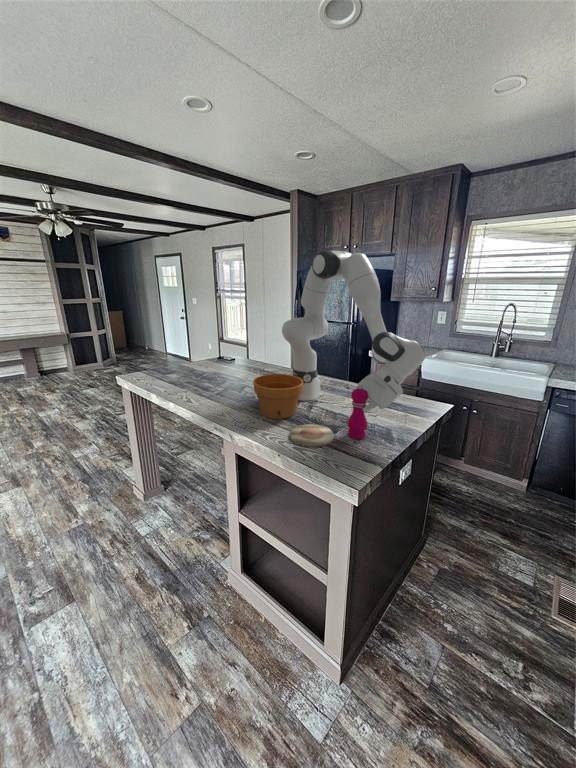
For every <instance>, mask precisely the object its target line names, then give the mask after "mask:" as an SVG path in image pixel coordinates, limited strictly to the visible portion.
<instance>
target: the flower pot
mask: <svg viewBox="0 0 576 768" xmlns="http://www.w3.org/2000/svg"><path fill="white" fill-rule="evenodd" d="M252 382H253V389H254V390H253V391H254V394H256V397H257V400H258V403H259V408H260V412H261V414H262V415H263V417H266V418H269V419H272V418H273V420H281V419H283V420H284V419H287V418H290V417H292V416H294V414H295V413H296V409H297V405H298V402H299V400H298V399H299V395H300V394H301V393H302V389H303V380H302V379H301V378H299V377H296V376H293V374H284V373H270V374H269V373H267V374H264V375H260V376H257V377H255V378H254V379H253V381H252Z"/></svg>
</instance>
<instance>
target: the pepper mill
mask: <svg viewBox="0 0 576 768" xmlns="http://www.w3.org/2000/svg"><path fill="white" fill-rule="evenodd" d="M357 385H358V384H357ZM362 388H363V386H362V385H358V387H356V388H355V389H353V390H352V392H351V395H350V396H351V399H352V401H351V402H352V403H351V405H352V412H351V414H350V416H349V418H348V421H347V427H348V432H347V433H348V436H349V437H350V438H352V439H355V440H356V439H357V440H360V439H364V438H365V437H366V430H367V428H368V420H367V417H366V415H365V414H366V413H365V412H364V411H363V410H362V407H363V406H366V405H367V401H368V399H369V397H368V392H367V391H366V390H365V389H362Z"/></svg>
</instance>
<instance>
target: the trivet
mask: <svg viewBox="0 0 576 768" xmlns="http://www.w3.org/2000/svg"><path fill="white" fill-rule="evenodd" d="M289 433H290V434H289V435H290V436H291V437H290V440H291V439H292V440H293V441H294V442H293V441H292V440H291V441H292V442H293V443H295V442H296V443H298V444H300V445H299V446H301V445H304V446H303V447H305V446H309V447H308V448H320V446H322V447H325V446H327V445H330V444H332V442H333V441H334V437H335V436H334V432H333V431H332V429H330V428H329V427H326V426H324V425H320V424H310V423H309V424H308V423H307V424H300V425H298V426H296V427H294V428H293V429H292V430H291V431H290V432H289ZM296 443H295V444H296ZM298 444H297V445H298Z"/></svg>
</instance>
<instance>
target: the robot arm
mask: <svg viewBox="0 0 576 768" xmlns="http://www.w3.org/2000/svg"><path fill="white" fill-rule="evenodd" d="M311 263H312V264H311V266H310V268H309V271H308V273H307V276H306V279H305V282H304V286H303V290H302V295H301V299H300V304H301V306H302V307H303V309H304V316H303V317H302V316H301V317H293V318H291V319H289V320H286V321H284V323H283V325H282V327H281V333H282V336H283V338H284V340H285V341H287V342H288V344H290V346H291V349H292V354H293V368H292V375H293V376H296V377H299V378H301V379H302V380H303V389H302V393H301V394H300V395H299V399H298V401H302V402H303V401H305V402H307V401H313V400H317V399H318V398H320V397H322V396H323V397H324V392H322V391H321V380H320V378H318V368H317V363H318V362H317V361H318V360H317V357H318V356H317V352H316V350H314V349H313V348H312V347H311V342H310V341H313V340H317V339H320V338H322V337H324V336H326V335H327V333H328V331H329V323H328V321H327V319H326V318H325V316H326V315H325V309H326V308H325V307H326V305H327V300H328V295H329V292H330V289H331V285H332V282H333V281H339V280H340V281H341V280H342V281H343V280H344V281H345V283H346V286H347V289H348V291H349V294H350V296H351V298H352V301H353V302H354V303H355V306H357V308H358V310H359V312H360V313H361V315H362V316H363V319H364V321H365V323H366V326H367V330H368V332H369V335H370V338H371V342H372V344H371V356H372V358H373V360H374V361H375V362H376V363H378V364H380V365H383V366H381V367H380V368H379V370H377V371H376V372H374V373H369V374H368V375H367V376H365V377H364V378H363V379H362V380H360V381H359V383H358V384H357V387H356V388H358V385H362V386H363V388H362V389H365V390H366V391H367V392H368V399H369V400H370V401H369V403H368V404H366V406H363V407H362V410H363V411H364V414H366V413H368V412H369V411H371V410H373V409H375V408H376V407H377V408H379V409H380V410H383V409H386V408H388V407H389V405H390V404H392V403H393V402H394V401H395V400H396V398H397V397H399V396H401V395H402V394H403V393H404V389H403V388H402V386H401V384H402V383H403V382H404V381H405V380H406V378H407V377H409V376H410V375H412V374H413V373H414V372H415V371H416V370H417V369H418V368H419V367H420V366H421V364H423V362H424V361H425V360H426V352H425V350H424V348H423V347H422V345H421V344H420V343H419V342H418V341H416V340H414V339H406V338H404V337H400V336H398V335H396V334H394V332H393V333H392V332H391V331H390V332H389V331H387V329H386V325H385V322H384V319H383V316H382V311H381V297H382V296H381V294H382V293H381V288H380V282H379V278H378V277H377V276H378V275H377V274H376V271H375V269H374V267H373V265H372V263H371V262H370V260H369V258H368V256H367V255H366V254H364V253H362V252H355V253H354V252H349V251H344V250H329V249H327V250H326V249H325V250H320V251H318V252H317V253H316V254H315V255H314V256H313V258H312V262H311Z"/></svg>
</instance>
